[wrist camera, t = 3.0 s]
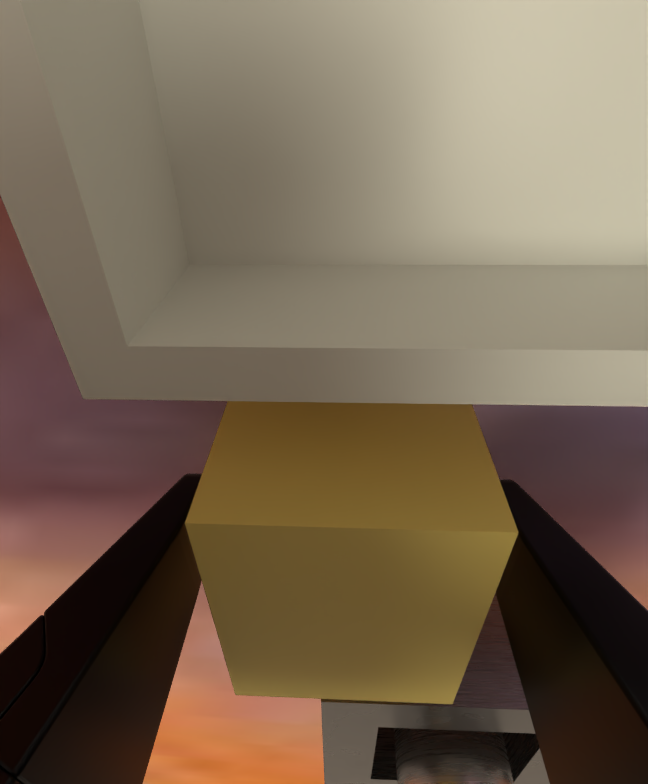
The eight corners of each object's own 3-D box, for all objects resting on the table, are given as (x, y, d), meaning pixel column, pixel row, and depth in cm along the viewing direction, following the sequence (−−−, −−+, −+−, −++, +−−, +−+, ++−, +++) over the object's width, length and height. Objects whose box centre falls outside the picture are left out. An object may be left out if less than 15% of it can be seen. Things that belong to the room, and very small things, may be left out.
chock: (422, 524, 12) (452, 704, 8) (266, 520, 12) (235, 695, 8) (454, 355, 9) (519, 533, 5) (244, 353, 9) (184, 523, 6)
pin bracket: (517, 694, 17) (545, 801, 14) (327, 687, 17) (324, 790, 15) (576, 589, 13) (631, 714, 10) (326, 582, 13) (321, 702, 11)
